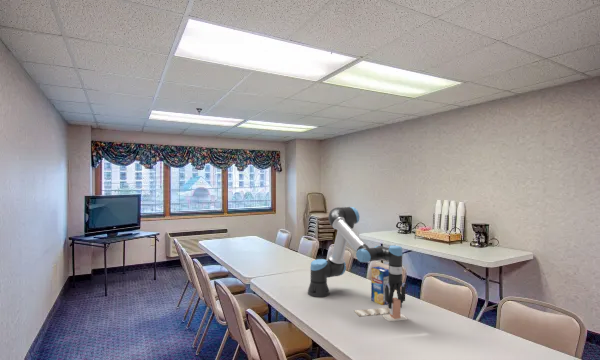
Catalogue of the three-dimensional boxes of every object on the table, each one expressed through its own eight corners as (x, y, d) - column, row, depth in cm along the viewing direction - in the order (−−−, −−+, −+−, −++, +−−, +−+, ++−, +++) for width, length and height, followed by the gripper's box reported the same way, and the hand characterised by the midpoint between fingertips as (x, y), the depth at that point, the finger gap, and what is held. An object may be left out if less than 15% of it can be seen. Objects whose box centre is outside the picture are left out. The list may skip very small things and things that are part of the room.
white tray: (366, 325, 179) (366, 322, 179) (353, 313, 196) (353, 310, 196) (409, 321, 185) (409, 318, 185) (392, 309, 202) (392, 306, 202)
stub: (388, 321, 182) (388, 302, 182) (382, 316, 189) (382, 297, 189) (407, 319, 185) (407, 300, 185) (400, 314, 192) (401, 296, 192)
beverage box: (383, 305, 209) (383, 271, 209) (371, 300, 218) (371, 267, 219) (390, 303, 213) (391, 270, 213) (378, 298, 222) (378, 266, 222)
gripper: (385, 275, 182) (384, 317, 181) (412, 274, 186) (411, 315, 185) (378, 272, 189) (378, 312, 189) (405, 270, 193) (404, 310, 193)
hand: (394, 313), depth 187 cm, fingers closed on stub, 4 cm apart
